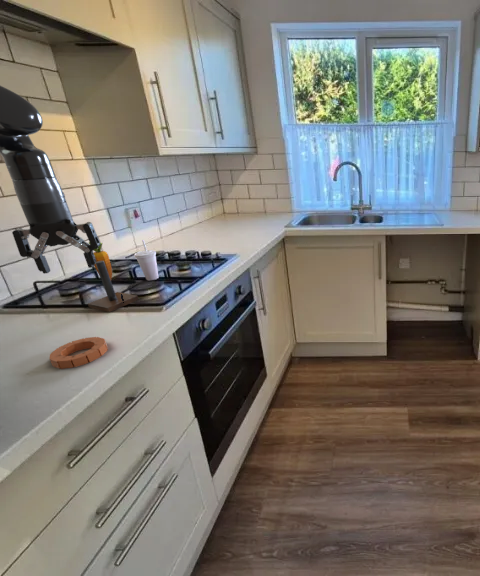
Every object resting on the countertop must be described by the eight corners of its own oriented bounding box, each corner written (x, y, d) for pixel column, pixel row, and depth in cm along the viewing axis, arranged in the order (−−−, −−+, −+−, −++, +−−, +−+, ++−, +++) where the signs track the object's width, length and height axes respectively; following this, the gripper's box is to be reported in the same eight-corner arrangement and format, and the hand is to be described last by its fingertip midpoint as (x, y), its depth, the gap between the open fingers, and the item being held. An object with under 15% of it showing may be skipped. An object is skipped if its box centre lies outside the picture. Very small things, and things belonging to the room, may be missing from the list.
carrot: (120, 281, 126) (106, 240, 120) (105, 286, 122) (90, 244, 116) (112, 279, 128) (98, 238, 122) (97, 284, 124) (81, 242, 118)
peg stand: (109, 312, 104) (93, 268, 98) (89, 308, 107) (72, 265, 101) (139, 299, 111) (125, 258, 106) (119, 296, 114) (105, 255, 109)
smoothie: (166, 277, 129) (155, 239, 123) (147, 283, 124) (135, 244, 118) (157, 274, 132) (146, 237, 127) (138, 279, 127) (126, 241, 122)
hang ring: (71, 372, 77) (67, 364, 76) (42, 363, 81) (39, 356, 80) (117, 348, 86) (114, 341, 85) (89, 341, 89) (87, 334, 88)
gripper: (-9, 205, 73) (24, 280, 79) (77, 199, 78) (102, 269, 84) (8, 200, 79) (38, 269, 86) (87, 194, 84) (109, 260, 91)
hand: (70, 269), depth 85 cm, fingers open, 8 cm apart
